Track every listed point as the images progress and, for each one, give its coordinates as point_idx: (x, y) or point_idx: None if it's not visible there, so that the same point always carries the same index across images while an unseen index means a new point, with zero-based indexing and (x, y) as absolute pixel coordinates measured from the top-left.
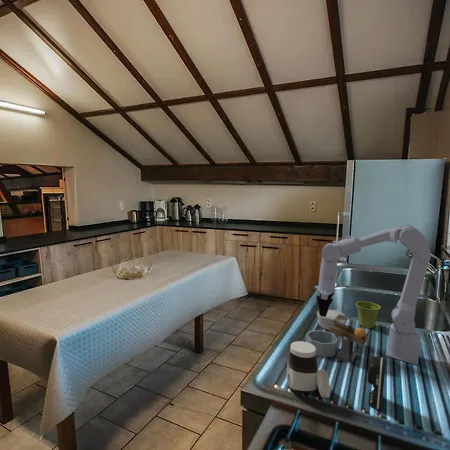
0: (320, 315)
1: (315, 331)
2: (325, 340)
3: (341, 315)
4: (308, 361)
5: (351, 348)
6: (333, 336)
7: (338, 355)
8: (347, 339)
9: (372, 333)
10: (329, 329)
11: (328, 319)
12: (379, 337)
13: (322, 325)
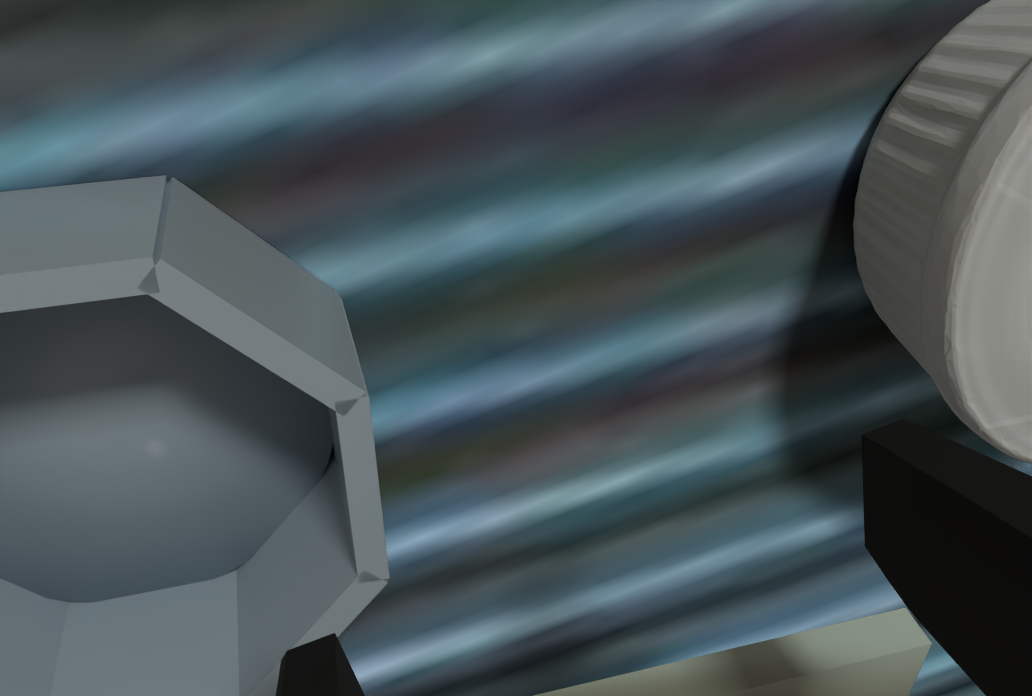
0: (286, 677)
1: (238, 347)
2: (331, 416)
3: (856, 693)
4: None
5: None
6: (303, 623)
7: None
8: None
9: None
10: (855, 232)
11: (937, 293)
12: (922, 689)
13: (897, 123)
